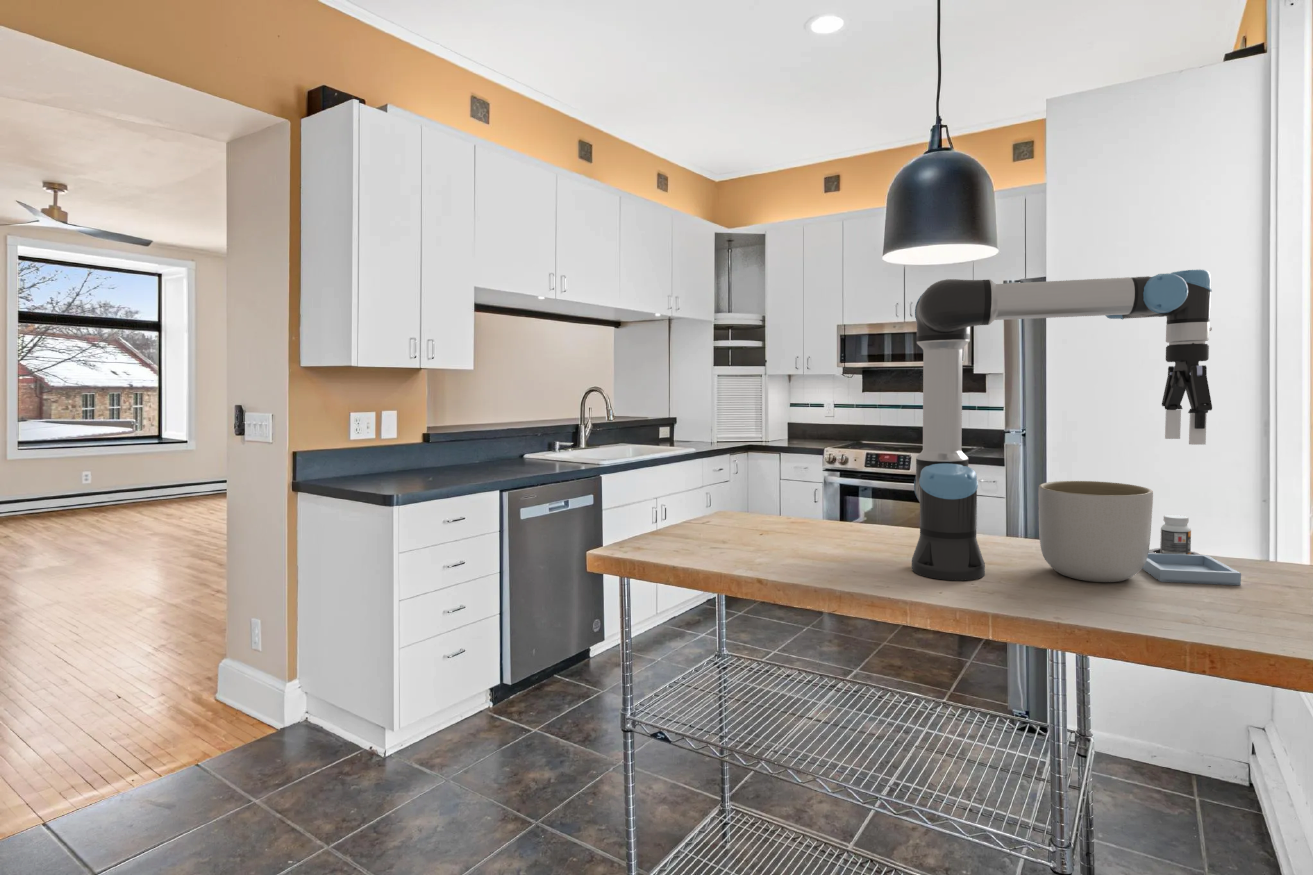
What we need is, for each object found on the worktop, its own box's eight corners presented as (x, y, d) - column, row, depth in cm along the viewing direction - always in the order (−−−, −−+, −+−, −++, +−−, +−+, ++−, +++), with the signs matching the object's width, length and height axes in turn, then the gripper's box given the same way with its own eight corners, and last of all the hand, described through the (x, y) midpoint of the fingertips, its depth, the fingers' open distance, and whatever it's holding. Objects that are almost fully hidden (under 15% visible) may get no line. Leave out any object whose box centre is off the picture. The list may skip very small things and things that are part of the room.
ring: (1158, 563, 163) (1158, 557, 163) (1142, 552, 173) (1142, 547, 173) (1210, 565, 160) (1210, 559, 160) (1190, 554, 170) (1191, 549, 170)
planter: (1133, 565, 162) (1136, 481, 160) (1164, 592, 142) (1168, 497, 140) (1030, 560, 168) (1031, 479, 167) (1046, 585, 149) (1048, 494, 147)
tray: (1160, 581, 149) (1160, 569, 149) (1134, 563, 164) (1134, 552, 163) (1240, 585, 145) (1241, 573, 145) (1206, 566, 160) (1207, 555, 160)
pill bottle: (1195, 562, 163) (1197, 518, 162) (1167, 561, 164) (1168, 518, 164) (1182, 556, 169) (1184, 514, 168) (1155, 555, 170) (1156, 513, 169)
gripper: (1234, 340, 143) (1230, 447, 145) (1184, 344, 167) (1182, 436, 168) (1190, 341, 145) (1186, 447, 147) (1147, 346, 169) (1144, 436, 171)
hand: (1184, 441), depth 158 cm, fingers open, 13 cm apart
